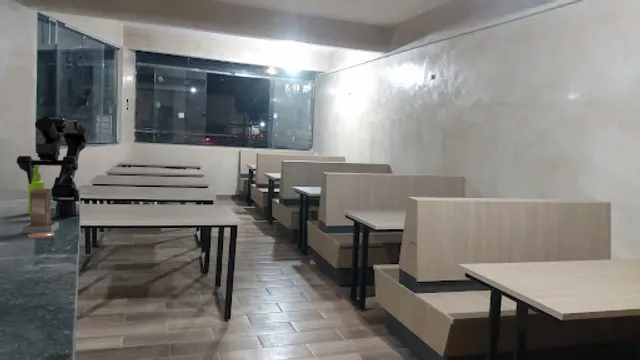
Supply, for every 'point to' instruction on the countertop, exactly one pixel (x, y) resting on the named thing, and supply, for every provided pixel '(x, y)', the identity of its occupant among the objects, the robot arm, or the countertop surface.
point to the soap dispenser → (35, 183)
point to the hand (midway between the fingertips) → (44, 183)
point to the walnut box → (40, 207)
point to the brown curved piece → (40, 234)
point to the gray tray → (40, 228)
